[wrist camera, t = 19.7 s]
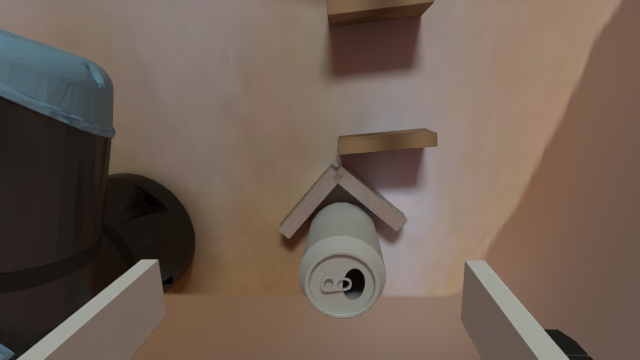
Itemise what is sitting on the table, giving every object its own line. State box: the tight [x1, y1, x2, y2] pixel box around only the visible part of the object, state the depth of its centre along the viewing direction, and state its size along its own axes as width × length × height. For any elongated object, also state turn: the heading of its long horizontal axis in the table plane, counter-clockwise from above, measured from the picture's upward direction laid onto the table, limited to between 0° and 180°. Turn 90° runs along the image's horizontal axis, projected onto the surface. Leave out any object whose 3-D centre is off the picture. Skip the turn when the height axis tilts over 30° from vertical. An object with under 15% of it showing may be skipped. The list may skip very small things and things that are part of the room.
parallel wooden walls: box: [326, 0, 437, 155], centre depth 33 cm, size 9×13×5 cm
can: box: [299, 202, 386, 319], centre depth 34 cm, size 8×8×12 cm
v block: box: [278, 163, 407, 239], centre depth 37 cm, size 14×8×2 cm, turn 96°
